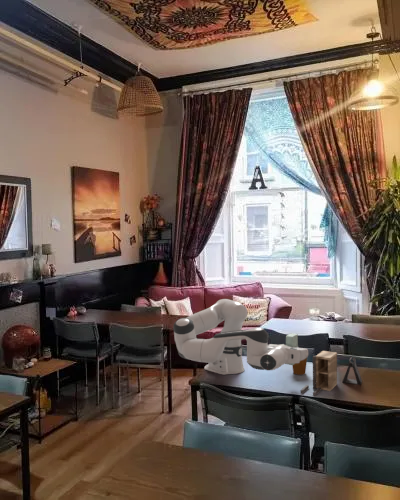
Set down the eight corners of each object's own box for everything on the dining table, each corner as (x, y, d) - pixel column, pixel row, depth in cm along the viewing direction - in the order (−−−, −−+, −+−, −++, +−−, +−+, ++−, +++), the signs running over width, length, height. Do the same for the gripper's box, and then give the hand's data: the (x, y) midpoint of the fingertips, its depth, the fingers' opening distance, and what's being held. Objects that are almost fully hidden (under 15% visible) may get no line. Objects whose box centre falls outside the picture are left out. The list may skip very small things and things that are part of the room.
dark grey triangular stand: (342, 382, 228) (342, 359, 228) (343, 379, 234) (343, 356, 233) (361, 385, 225) (361, 361, 224) (362, 381, 230) (362, 357, 229)
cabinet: (300, 393, 215) (300, 359, 214) (315, 380, 232) (315, 349, 231) (323, 397, 209) (323, 363, 208) (337, 384, 226) (336, 352, 225)
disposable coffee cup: (308, 376, 239) (308, 353, 238) (290, 375, 241) (290, 353, 240) (308, 370, 248) (307, 349, 248) (290, 369, 250) (290, 348, 250)
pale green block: (286, 364, 223) (285, 336, 223) (291, 360, 229) (291, 333, 228) (292, 365, 221) (292, 336, 221) (298, 361, 227) (297, 334, 227)
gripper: (261, 357, 220) (273, 351, 231) (302, 363, 209) (312, 356, 220) (261, 344, 220) (273, 338, 231) (301, 350, 208) (312, 343, 220)
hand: (292, 347), depth 226 cm, fingers closed on pale green block, 3 cm apart
